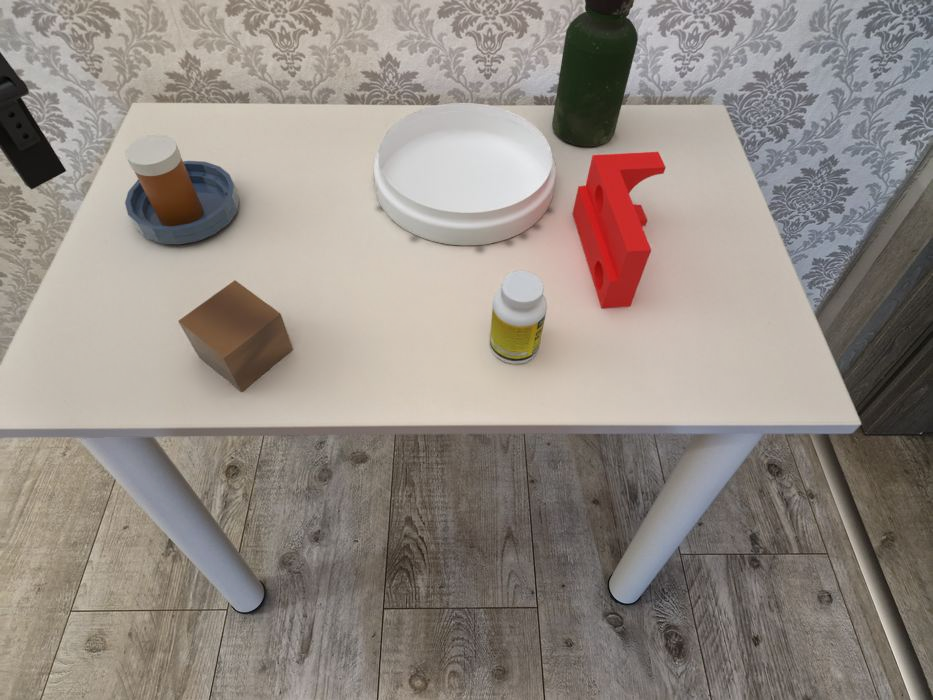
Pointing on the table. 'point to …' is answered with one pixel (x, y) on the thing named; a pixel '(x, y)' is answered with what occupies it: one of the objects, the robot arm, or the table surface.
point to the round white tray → (464, 174)
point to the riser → (237, 335)
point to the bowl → (213, 197)
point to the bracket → (615, 224)
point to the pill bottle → (518, 317)
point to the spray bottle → (594, 72)
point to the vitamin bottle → (164, 179)
